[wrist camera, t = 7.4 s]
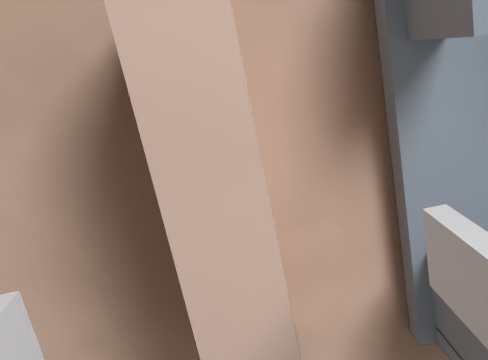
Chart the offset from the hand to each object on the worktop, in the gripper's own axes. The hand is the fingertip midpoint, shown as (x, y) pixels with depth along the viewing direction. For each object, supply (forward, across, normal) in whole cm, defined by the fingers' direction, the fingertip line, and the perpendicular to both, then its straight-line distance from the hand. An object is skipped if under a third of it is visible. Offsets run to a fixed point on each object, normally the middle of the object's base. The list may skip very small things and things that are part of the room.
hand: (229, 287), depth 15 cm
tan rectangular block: (+12, 0, 0) cm, 12 cm away
